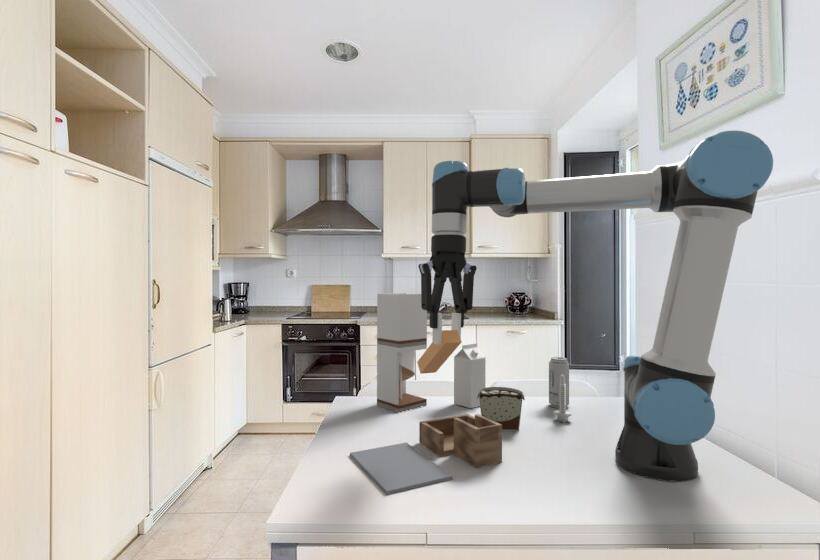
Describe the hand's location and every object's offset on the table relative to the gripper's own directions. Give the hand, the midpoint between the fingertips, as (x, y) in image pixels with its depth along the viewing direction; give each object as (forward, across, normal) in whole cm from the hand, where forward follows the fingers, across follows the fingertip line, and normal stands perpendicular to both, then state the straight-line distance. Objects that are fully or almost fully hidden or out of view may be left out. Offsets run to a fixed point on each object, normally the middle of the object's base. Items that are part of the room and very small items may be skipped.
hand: (446, 343), depth 94 cm
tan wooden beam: (+4, 0, -3) cm, 5 cm away
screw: (+25, -44, -10) cm, 52 cm away
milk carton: (+26, -29, -34) cm, 52 cm away
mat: (+26, +10, -1) cm, 28 cm away
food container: (+25, -25, -13) cm, 38 cm away
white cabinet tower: (+26, -9, -42) cm, 51 cm away
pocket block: (+25, -7, -2) cm, 26 cm away
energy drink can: (+25, -54, -21) cm, 63 cm away
